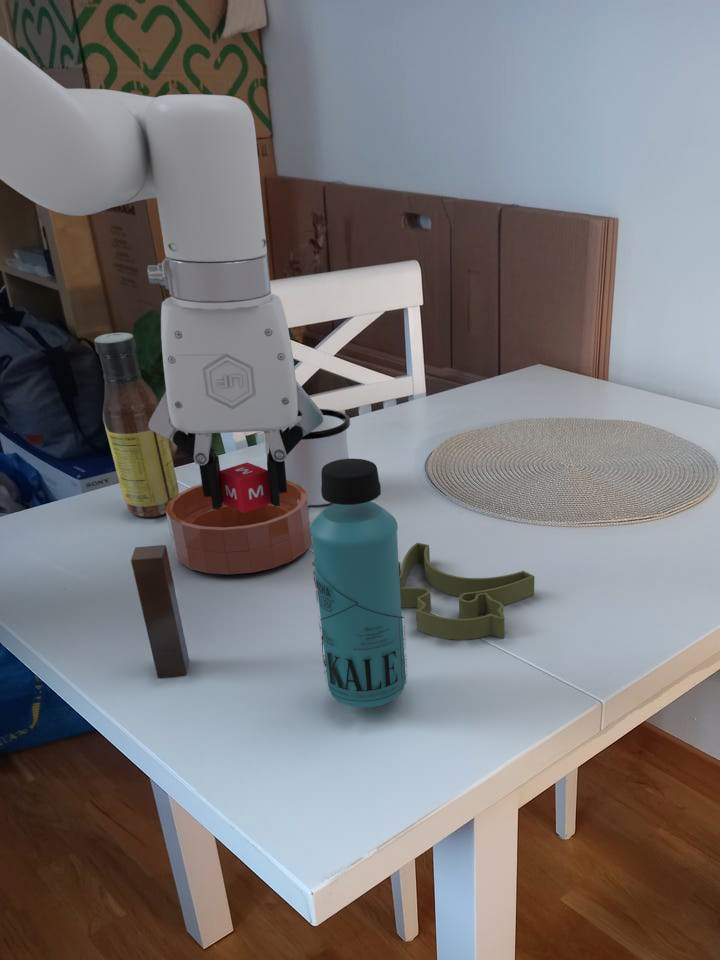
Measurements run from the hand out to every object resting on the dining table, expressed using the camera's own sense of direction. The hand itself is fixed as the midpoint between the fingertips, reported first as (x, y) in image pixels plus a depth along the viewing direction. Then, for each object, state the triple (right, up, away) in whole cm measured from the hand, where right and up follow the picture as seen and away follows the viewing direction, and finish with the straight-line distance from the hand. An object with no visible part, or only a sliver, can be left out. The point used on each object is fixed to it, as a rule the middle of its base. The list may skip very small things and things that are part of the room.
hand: (247, 499), depth 80 cm
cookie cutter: (+17, -8, +8) cm, 20 cm away
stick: (-6, -15, -2) cm, 16 cm away
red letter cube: (0, -1, 0) cm, 1 cm away
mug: (-1, +6, +32) cm, 32 cm away
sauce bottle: (-18, +3, +28) cm, 33 cm away
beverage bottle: (+11, -17, -6) cm, 22 cm away
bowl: (-5, -3, +18) cm, 19 cm away
